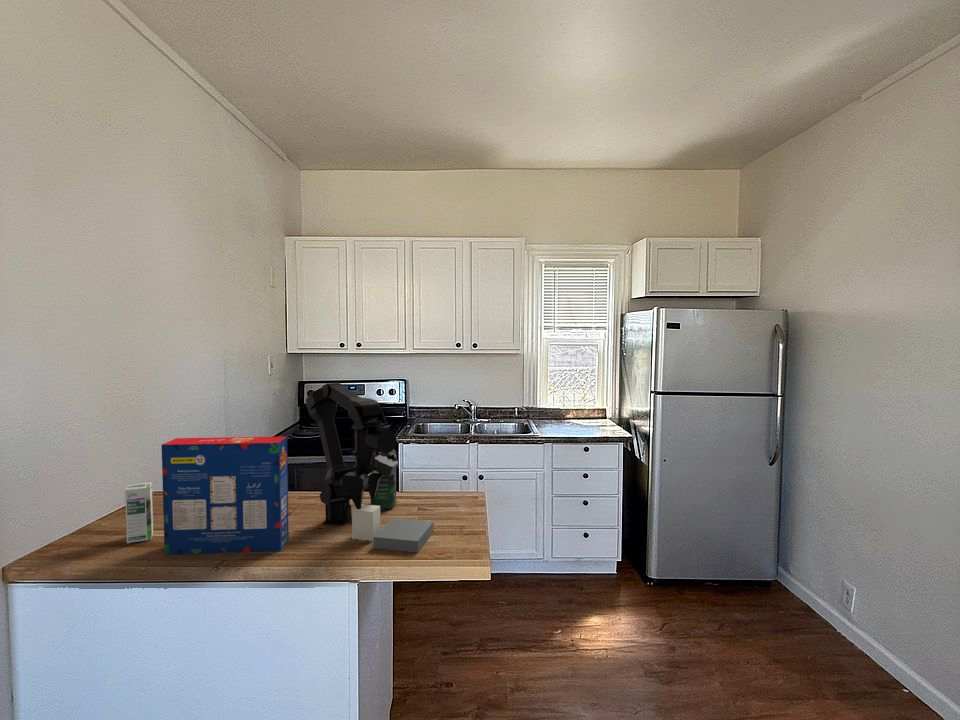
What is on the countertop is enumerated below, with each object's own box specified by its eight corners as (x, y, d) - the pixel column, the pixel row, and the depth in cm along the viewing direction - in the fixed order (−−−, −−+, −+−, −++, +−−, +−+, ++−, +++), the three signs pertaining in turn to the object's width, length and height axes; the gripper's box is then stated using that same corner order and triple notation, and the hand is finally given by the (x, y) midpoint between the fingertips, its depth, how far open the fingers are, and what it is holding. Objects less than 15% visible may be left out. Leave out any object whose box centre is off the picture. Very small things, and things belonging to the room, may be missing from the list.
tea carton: (352, 539, 142) (352, 510, 142) (360, 532, 147) (359, 504, 147) (373, 541, 141) (372, 511, 140) (380, 534, 146) (380, 505, 145)
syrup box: (126, 544, 138) (124, 489, 137) (129, 536, 143) (127, 483, 142) (151, 540, 141) (150, 486, 140) (153, 532, 146) (152, 481, 145)
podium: (373, 548, 136) (373, 537, 136) (393, 528, 150) (393, 518, 150) (417, 552, 134) (417, 541, 134) (433, 532, 147) (433, 521, 147)
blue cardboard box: (288, 538, 142) (287, 436, 141) (280, 551, 134) (278, 442, 133) (179, 542, 139) (176, 438, 138) (164, 555, 131) (161, 444, 130)
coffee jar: (393, 510, 165) (393, 452, 164) (368, 510, 165) (368, 452, 164) (398, 500, 174) (398, 445, 173) (374, 500, 174) (374, 445, 173)
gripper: (380, 456, 132) (380, 517, 133) (405, 441, 150) (405, 495, 151) (339, 454, 134) (339, 514, 135) (369, 439, 152) (369, 492, 153)
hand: (366, 503), depth 144 cm, fingers open, 9 cm apart
